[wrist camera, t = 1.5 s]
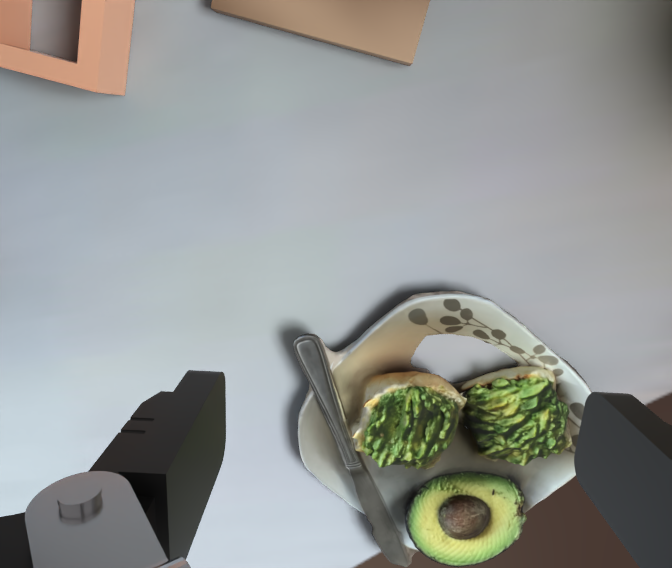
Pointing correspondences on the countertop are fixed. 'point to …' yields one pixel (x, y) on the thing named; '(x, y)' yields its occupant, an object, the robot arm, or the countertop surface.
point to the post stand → (341, 22)
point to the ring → (93, 51)
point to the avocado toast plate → (440, 430)
